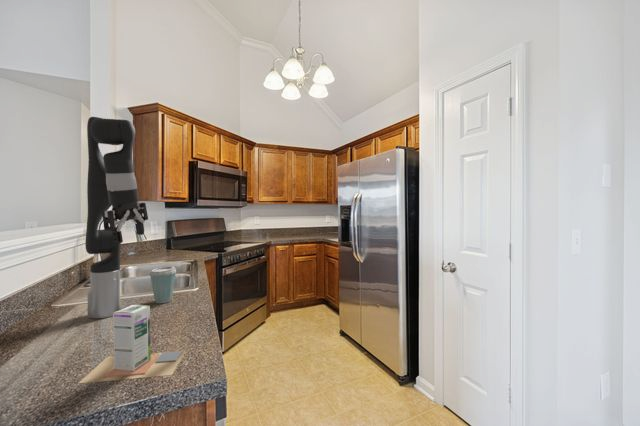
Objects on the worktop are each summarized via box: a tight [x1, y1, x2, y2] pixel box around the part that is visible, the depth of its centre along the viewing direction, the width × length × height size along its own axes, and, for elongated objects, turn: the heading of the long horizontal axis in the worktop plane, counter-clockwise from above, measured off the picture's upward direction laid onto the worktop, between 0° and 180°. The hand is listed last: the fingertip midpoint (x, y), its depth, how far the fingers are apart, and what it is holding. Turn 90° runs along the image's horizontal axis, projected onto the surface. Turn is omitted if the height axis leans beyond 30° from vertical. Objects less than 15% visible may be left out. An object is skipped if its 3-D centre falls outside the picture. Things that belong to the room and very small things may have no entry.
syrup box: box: [112, 304, 152, 371], centre depth 72 cm, size 6×6×14 cm
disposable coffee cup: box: [149, 265, 177, 304], centre depth 127 cm, size 11×11×15 cm
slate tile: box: [156, 350, 183, 363], centre depth 76 cm, size 5×5×1 cm
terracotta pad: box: [104, 354, 159, 378], centre depth 72 cm, size 9×9×1 cm
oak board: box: [77, 350, 187, 385], centre depth 72 cm, size 20×12×1 cm, turn 100°
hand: (130, 238), depth 89 cm, fingers open, 8 cm apart
